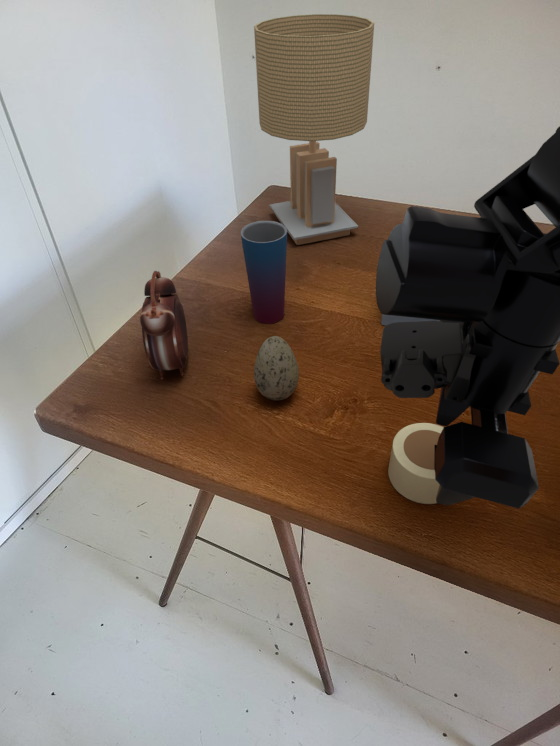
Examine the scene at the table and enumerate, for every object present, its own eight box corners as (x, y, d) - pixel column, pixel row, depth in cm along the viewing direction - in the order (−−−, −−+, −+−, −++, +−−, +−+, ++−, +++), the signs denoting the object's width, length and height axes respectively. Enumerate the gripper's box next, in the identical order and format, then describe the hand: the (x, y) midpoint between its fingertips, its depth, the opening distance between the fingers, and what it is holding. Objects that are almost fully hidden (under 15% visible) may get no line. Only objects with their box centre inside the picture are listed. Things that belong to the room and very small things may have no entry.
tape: (461, 458, 63) (470, 431, 59) (453, 512, 57) (462, 487, 54) (395, 441, 65) (400, 415, 62) (381, 492, 60) (385, 466, 56)
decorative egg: (288, 415, 69) (286, 359, 62) (248, 402, 71) (242, 346, 64) (305, 386, 73) (305, 330, 66) (267, 375, 75) (263, 319, 68)
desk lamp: (253, 213, 113) (240, 20, 89) (337, 199, 117) (345, 10, 93) (282, 256, 99) (274, 41, 75) (375, 238, 103) (396, 28, 80)
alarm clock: (160, 342, 81) (139, 258, 71) (190, 340, 81) (174, 255, 71) (154, 391, 73) (129, 303, 63) (188, 388, 73) (169, 300, 63)
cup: (289, 327, 83) (286, 242, 73) (247, 327, 83) (238, 243, 73) (289, 302, 88) (287, 219, 78) (249, 303, 88) (242, 220, 78)
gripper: (409, 235, 43) (364, 371, 54) (397, 378, 30) (339, 524, 40) (543, 266, 43) (470, 399, 53) (595, 428, 29) (482, 564, 39)
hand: (441, 460), depth 46 cm, fingers open, 9 cm apart
